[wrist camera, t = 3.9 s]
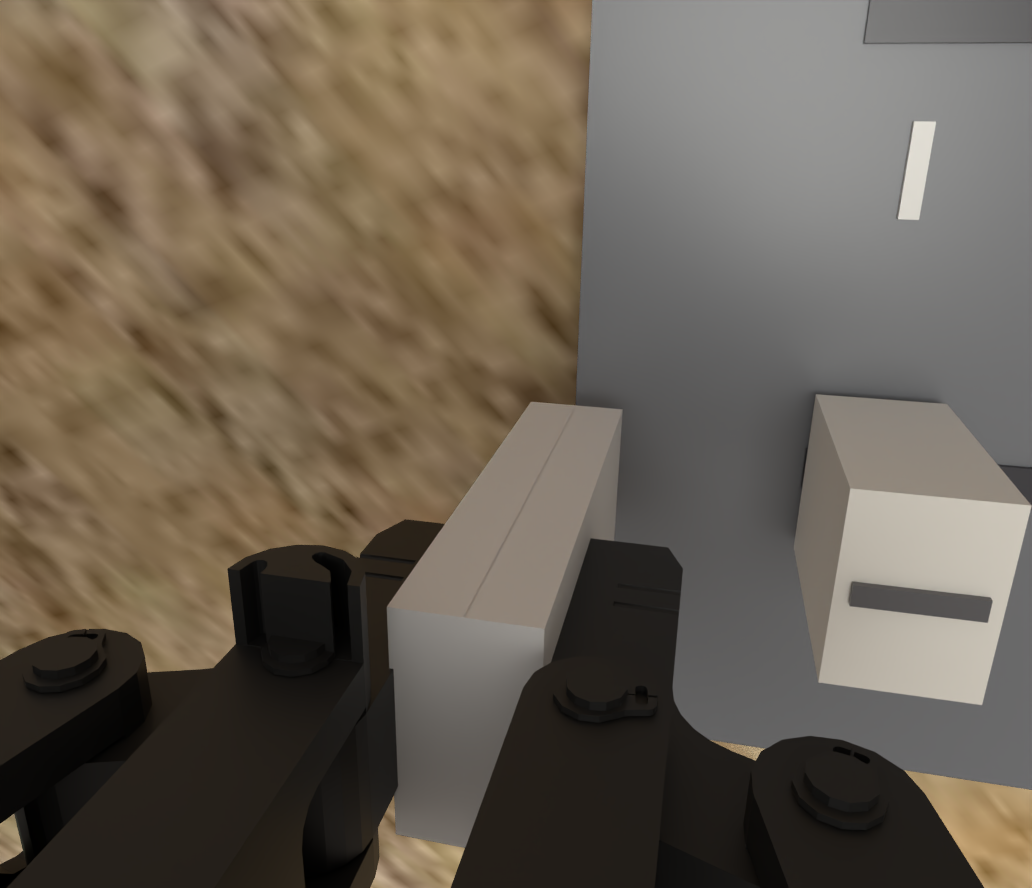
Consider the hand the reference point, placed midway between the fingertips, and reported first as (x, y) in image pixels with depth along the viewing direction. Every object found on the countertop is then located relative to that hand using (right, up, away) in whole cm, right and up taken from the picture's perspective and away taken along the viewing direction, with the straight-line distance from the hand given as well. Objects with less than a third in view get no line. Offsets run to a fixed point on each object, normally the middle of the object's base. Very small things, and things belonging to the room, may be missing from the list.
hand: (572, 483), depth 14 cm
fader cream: (+5, 0, 0) cm, 5 cm away
